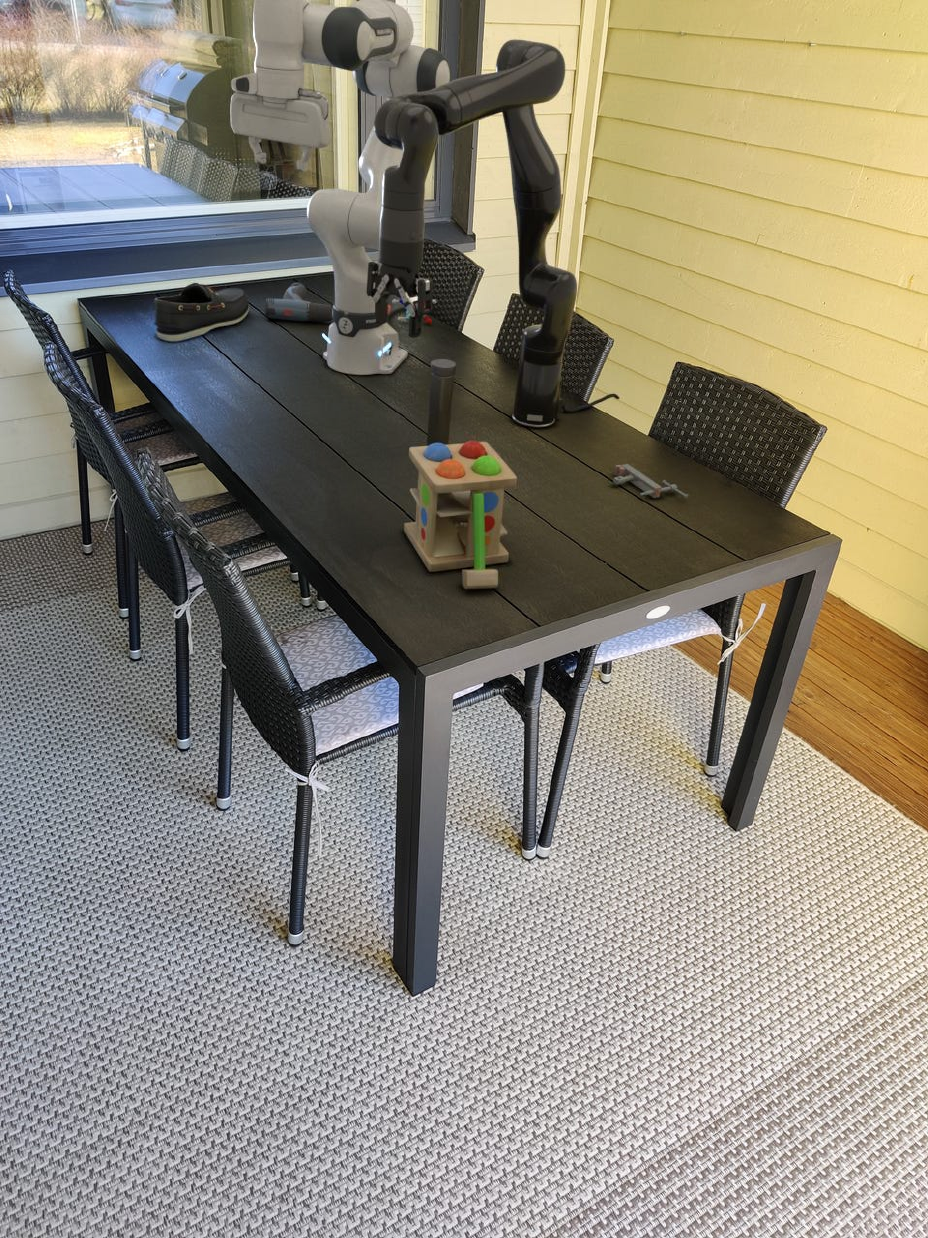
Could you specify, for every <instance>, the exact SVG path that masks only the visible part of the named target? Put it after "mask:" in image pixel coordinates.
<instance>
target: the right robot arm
mask: <svg viewBox="0 0 928 1238" xmlns="http://www.w3.org/2000/svg"><path fill="white" fill-rule="evenodd" d="M565 78H566V62H565V58H564V55H563V54H562V52H561V51H560V50H559V49H558V48H557V47H556V46H553V45H552V44H550V43H545V42H538V41H532V40H525V39H515V38H513V39H509V40H507V41H506V42H504V43H503V44H502V46H501V47H500V49H499V51H498V54H497V57H496V61H495V72H488V73H481V74H473V75H468V76H463V77H459V78H456V79H453V80H450V82H448V83H446V84H443V85H441V86H439V87H436V88H434V89H432V90H429V91H424V92H416V93H411V94H405V95H401V96H397V97H394V98H391V99H389V100H387V99H386V100H385V102H383V103H382V104H381V105H380V107H379V108H378V109H377V110H376V113H375V115H374V118H373V119H374V120H373V127H374V130H375V133H376V136H377V138H378V139H379V140H380V141H381V142H382V143H383V144H384V145H386V146H388V147H391V148H395V149H399V150H403V156H402V159H401V162H400V165H394V166H390V167H388V168H387V169H386V170H385V171H384V174H383V182H382V208H381V214H380V229H379V250H378V260H373V261H372V262H369V264H368V276H367V295H368V296H371V297H372V298H373V300H374V302H375V319H376V323H377V324H379V325H380V324H385V323H387V317H388V305H389V302H388V301H387V300H388V299H389V298H390V296H396V297H397V298H398V299H401V298H402V301H403V303H404V304H405V305H406V306H407V308H408V310H409V313H410V315H411V316H409V321H408V337H409V338H412V339H414V338H419V337H420V336H421V334H422V331H423V319H424V317H423V315H424V316H425V315H427V316H428V315H431V314H432V313H433V305H434V304H433V300H434V299H433V296H434V280H433V279H432V278H431V277H428V278H423V277H421V276H420V272H419V270H420V267H421V266H422V264H423V262H424V246H425V245H424V244H425V243H424V242H425V223H426V220H425V198H426V196H425V195H426V182H427V177H428V175H429V172H430V169H431V165H432V163H433V162H432V161H433V158H434V155H435V152H436V149H437V145H438V141H439V136H445V135H449V134H452V133H454V132H457V131H458V130H459V131H460V130H461V129H462V128H465V127H467V126H470V125H473V124H474V123H476V122H479V121H481V120H484V119H486V118H489V117H491V116H492V117H493V116H495V115H497V114H502V118H503V123H504V129H505V133H506V140H507V149H508V156H509V165H510V173H511V174H510V175H511V186H512V188H511V189H512V197H513V205H514V211H515V216H516V217H515V218H516V219H515V220H516V233H517V243H518V244H517V245H518V288H519V297H520V300H521V301H522V304H524V305H525V306H526V307H527V308H529V309H531V310H535V311H538V312H539V313H543V315H544V316H543V320H542V323H541V324H534V325H533V324H532V325H530V326H527V327H525V328H524V329H523V331H522V335H521V344H520V352H519V362H518V368H517V369H518V370H517V377H516V387H515V388H516V389H515V396H514V403H513V413H512V415H511V418H512V420H513V421H514V423H515V424H517V425H520V426H523V427H526V428H531V429H547V428H550V427H552V426H553V425H554V424H555V421H557V419H558V414H561V413H563V412H564V413H576V412H579V411H583V410H585V409H589V408H590V407H593V406H596V405H597V404H600V403H603V402H605V401H607V400H609V399H610V398H614V399H615V400H620V397H619V395H618V394H617V393H609V394H606V395H605V396H603V397H601V398H598V399H596V400H594V401H592V402H590V403H586V404H583V405H580V406H577V407H575V408H566V404H565V402H564V398H562V397H561V391H562V384H563V379H562V378H561V376H562V369H563V362H564V361H563V360H564V354H565V346H566V341H567V339H568V336H569V334H570V331H571V327H572V321H573V316H574V311H575V305H576V303H577V302H576V301H577V295H578V281H577V278H576V276H575V274H574V273H572V272H571V271H568V270H566V269H563V268H559V267H556V266H554V265H550V264H549V263H548V261H547V252H546V250H547V249H546V242H547V237H548V235H549V233H550V231H551V230H552V227H553V226H554V224H555V222H556V221H557V218H558V217H559V214H560V211H561V208H562V205H563V204H562V203H563V199H562V198H563V195H562V194H563V193H562V181H561V180H562V179H561V170H560V167H559V163H558V162H557V161H558V160H557V159H556V156H555V154H554V153H553V150H552V148H551V147H550V145H549V143H548V141H547V140H546V138H545V136H544V134H543V133H542V130H541V128H540V126H539V124H538V121H537V118H536V113H535V109H534V105H539V104H544V103H548V102H550V101H552V100H553V99H555V98H556V96H557V95H559V93H560V91H561V89H562V87H563V85H564V82H565ZM382 278H383V280H382ZM374 283H375V288H373V285H374ZM412 295H413V296H412ZM425 301H426V306H425V307H424V302H425ZM404 304H403V305H404ZM414 304H415V305H416V307H414Z"/></svg>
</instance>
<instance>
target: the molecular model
mask: <svg viewBox="0 0 928 1238" xmlns="http://www.w3.org/2000/svg"><path fill="white" fill-rule="evenodd" d="M391 302H392V305H396V304H397V303H400V304H401V305H403V307H404V306H405V308H406V310H405V311H406V312H405V316H403V317H402V316H398V318H397V320H398V322H403V323H407V322H409V316H411V315H410V313H409V310H408V308H407V306H406V305H405V304H404V303H403V301H402V298H399V299H392V300H391ZM436 304H437V300H436V299H435V298H434V299H433V304H432V305H436ZM424 307H426V301H425V302H424ZM423 319H424V320H425V323H426V324H427V325H431V324H432V322H433V320H432V318H430V317H429V316H428V314H427V315H423Z"/></svg>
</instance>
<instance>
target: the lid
mask: <svg viewBox="0 0 928 1238" xmlns="http://www.w3.org/2000/svg"><path fill="white" fill-rule="evenodd" d="M456 369H457V363H456V362H455V361H454V360H452V359H446V358H437V359H436V358H435V359H433V360H431V362H430V373H431V374H434V375H437V376H443V377H447V376H453V375H454V376H455V374H456Z"/></svg>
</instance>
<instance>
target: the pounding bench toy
mask: <svg viewBox="0 0 928 1238" xmlns="http://www.w3.org/2000/svg"><path fill="white" fill-rule="evenodd" d="M408 458H409V459H410V461H411V462H412V464H413V465H414V467H415V468H416V470H417V471H418V477H417V479H418V480H417V488H415V487H410V488H409V493H410V494H411V496H412V497H413V499H414V500H415V503H416V512H415V521H410V522H405V523H403V525H404V526H403V531H404V534H405V535H406V536H407V539H408V541H410V543H411V545H412V546H413V548H414V549H415V551H416V553H417V554H418V556H419V558H420V559H421V560H422V562H423V564H424V565H425V567H426V568H427V570H428V571H429V572H431V573H432V572H433V573H435V572H441V571H449V570H458V569H462V570H461V571H462V572H461V573H462V575H461V576H462V587H463V589H464V590H479V589H483V590H484V589H496V588H498V586H499V570H497V569H495V568H486V566H488V565H495V564H502V563H508V561H509V557H510V555H509V554H510V553H509V552H508V551H507V549H506V548H505V546H504V545H503V544H502V542H500V541H501V539H500V538H501V537H504V536H507V535H508V530H507V529H506V528H505V527H504V525H503V524H502V521H503V520H502V519H503V509H504V499H505V488H512V487H516V486H517V481H518V477H517V475H516V474H515V473H514V471H513V470H512V469H511V468H510V467H509V465H508V464H507V463H506V462H505V461H504V459H502V458H501V456H500V454H499V453H497V452H496V450H495V449H494V448H493V447H492V446H491V444H490V443H488V442H487V441H477V440H468V441H466V442H465V443H451V444H448V445H444V444H442V443H433V444H431V445H429V446H427V445H422V446H421V445H420V446H410V447H409V449H408ZM472 567H473V568H472ZM464 568H471V569H464Z"/></svg>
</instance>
